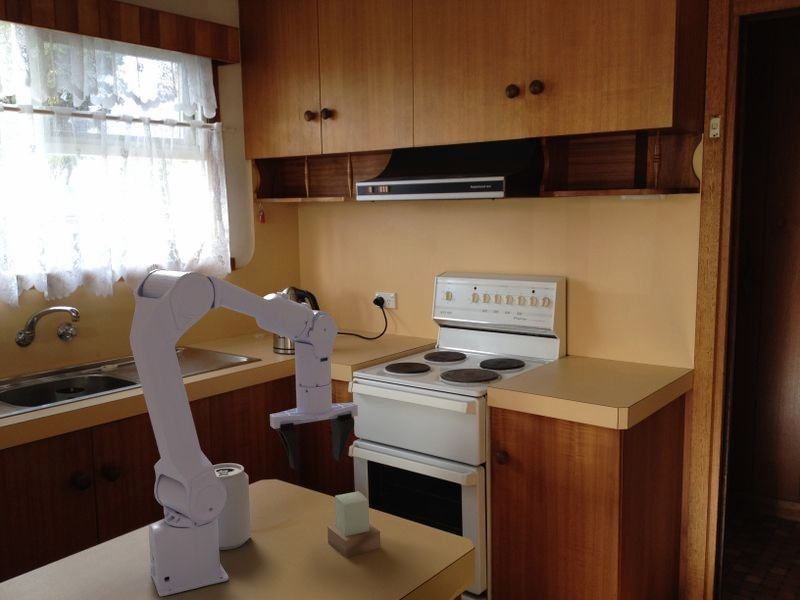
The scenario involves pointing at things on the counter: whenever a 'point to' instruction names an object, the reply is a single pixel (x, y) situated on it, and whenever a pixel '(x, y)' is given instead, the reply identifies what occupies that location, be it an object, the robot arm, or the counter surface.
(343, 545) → the walnut slab
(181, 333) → the robot arm
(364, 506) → the green block
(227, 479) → the can
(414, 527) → the counter surface
